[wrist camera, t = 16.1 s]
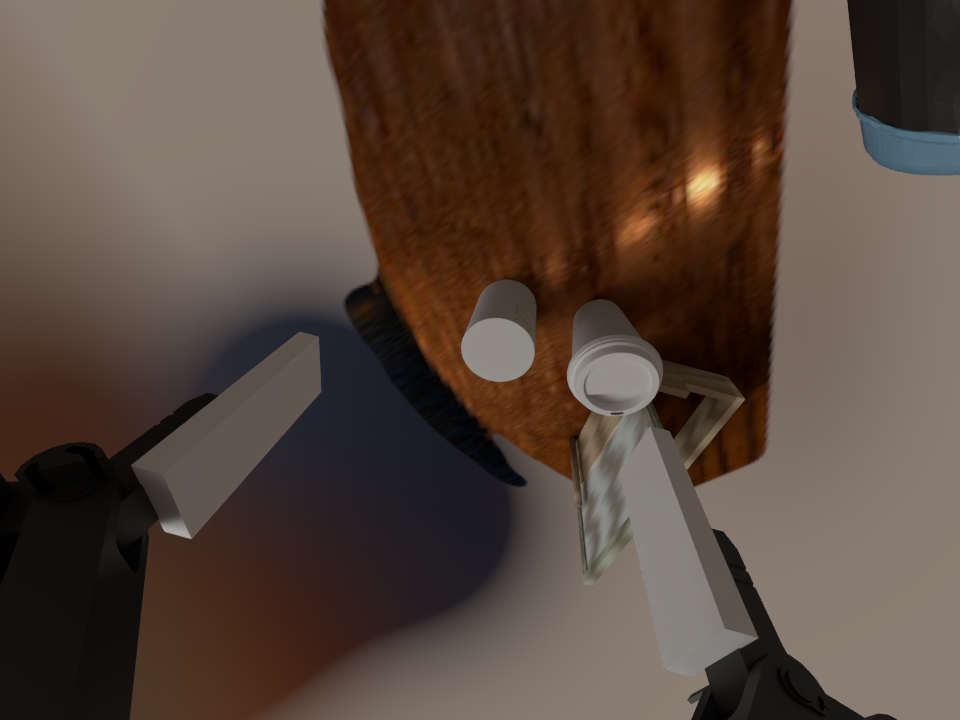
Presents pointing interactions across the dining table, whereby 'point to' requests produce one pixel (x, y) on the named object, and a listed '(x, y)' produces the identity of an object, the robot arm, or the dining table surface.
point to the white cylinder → (501, 332)
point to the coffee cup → (611, 361)
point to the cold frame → (614, 442)
